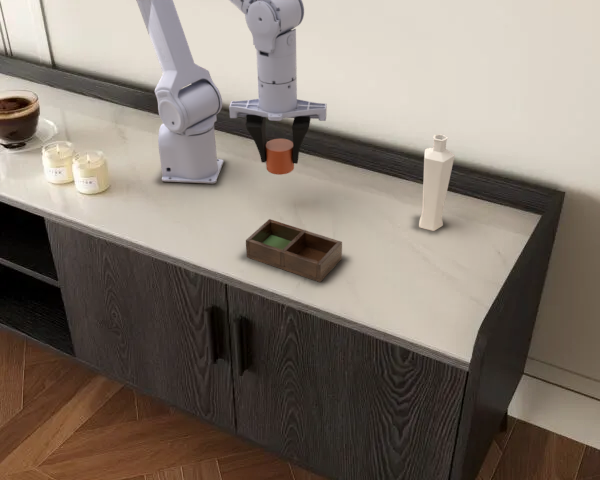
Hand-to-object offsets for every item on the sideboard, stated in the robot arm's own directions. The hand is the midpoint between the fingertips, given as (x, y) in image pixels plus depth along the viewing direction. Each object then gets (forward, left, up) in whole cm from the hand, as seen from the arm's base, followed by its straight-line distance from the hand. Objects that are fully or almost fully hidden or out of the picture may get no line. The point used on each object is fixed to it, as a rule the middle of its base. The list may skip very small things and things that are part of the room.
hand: (279, 159), depth 120 cm
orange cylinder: (0, 0, -1) cm, 1 cm away
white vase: (+24, -3, -9) cm, 26 cm away
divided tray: (+4, -14, -9) cm, 17 cm away
